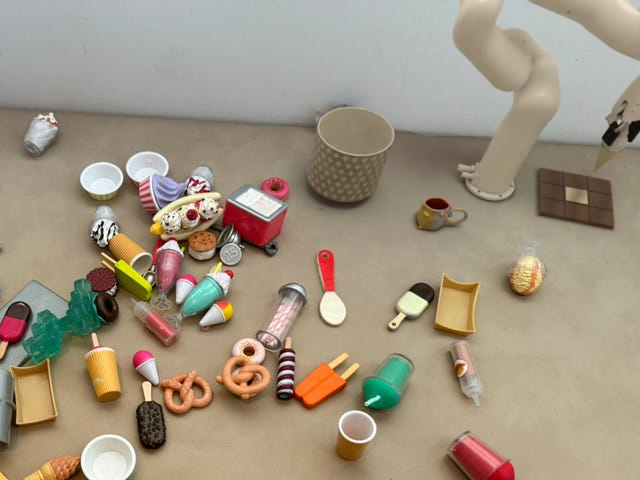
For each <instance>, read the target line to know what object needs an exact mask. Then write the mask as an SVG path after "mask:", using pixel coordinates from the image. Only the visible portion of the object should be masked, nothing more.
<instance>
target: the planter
mask: <svg viewBox="0 0 640 480" xmlns="http://www.w3.org/2000/svg"><path fill="white" fill-rule="evenodd" d="M313 140H314V142H313V145H312V149H311V153H310V157H309V162H308V166H307V171H306V179H307V181H308V184H309V185H310V187H311V188H312V189H313V190H314V191H315V192H316V193H317V194H319V195H320V196H322V197H323V198H326V199H329V200H331V201H334V202H340V203H353V202H359V201H362V200H364V199H367V198H368V197H370V196H371V195H373V193H374V192H375V191H376V189H377V187H378V185H379V182H380V179H381V177H382V174H383V170H384V168H385V165H386V164H387V163H386V162H387V160H388V157H389V154H390V152H391V149H392V146H393V143H394V140H395V130H394V128H393V126H392V124H391V122H389V120H387V119H386V117H384V116H383V115H381V114H379V112H375V111H373V110H371V109H368V108H364V107H363V108H362V107H358V106H356V107H355V106H345V107H339V108H334V109H332V110H330V111H327V112H326V113H325V114H324V115H322V116H321V118H320V119H319V121H318V124H317V126H316V131H315V136H314V139H313Z"/></svg>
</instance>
